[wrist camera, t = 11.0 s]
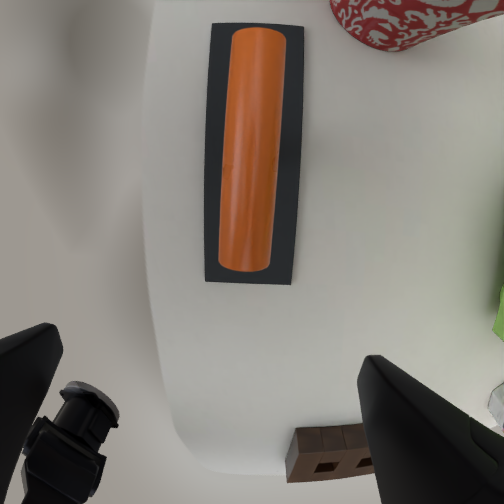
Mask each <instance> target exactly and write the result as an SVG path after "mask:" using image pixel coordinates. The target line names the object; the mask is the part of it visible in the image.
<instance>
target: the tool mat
mask: <svg viewBox="0 0 504 504" xmlns="http://www.w3.org/2000/svg"><path fill="white" fill-rule="evenodd" d="M252 27H260V28H268V29H272V30H275V31H278V32H280V33H282V34H283V35H284V36H285V38H286V55H285V72H284V89H283V104H282V119H281V134H280V147H279V161H278V174H277V186H276V199H275V211H274V222H273V234H272V245H271V256H270V264H269V266H268V267H267V268H265V269H263V270H260V271H253V272H242V271H235V270H231V269H228V268H225V267H223V266H222V265H221V264H220V263H219V260H218V259H219V228H220V203H221V182H222V163H223V146H224V131H225V116H226V102H227V90H228V77H229V66H230V55H231V44H232V36H233V34H234V33H235V32H236V31H238V30H241V29H244V28H252ZM303 78H304V27H302V26H293V25H281V24H265V23H213V24H212V31H211V43H210V56H209V70H208V87H207V107H206V131H205V169H204V255H205V281H206V282H227V283H250V284H278V285H291V279H292V269H293V258H294V247H295V235H296V222H297V208H298V194H299V178H300V160H301V140H302V115H303Z"/></svg>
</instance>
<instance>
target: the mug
mask: <svg viewBox="0 0 504 504" xmlns="http://www.w3.org/2000/svg"><path fill="white" fill-rule="evenodd" d="M330 5H331V9H332V11H333V13H334V15H335V17H336V18H337V20H338V21H339V23H340V24H341V25H342V26H343V28H344V29H345V30H346V31H348V32H349V33H350V34H351V35H352V36H353V37H355V38H356V39H358V40H359V41H361V42H363V43H365V44H367V45H369V46H371V47H373V48H376V49H380V50H383V51H391V52H394V51H402V50H406V49H408V48H411V47H413V46H415V45H417V44H419V43H421V42H424V41H426V40H429V39H431V38H435V37H437V36H439V35H442V34H445V33H447V32H450V31H453V30H456V29H458V28H460V27H463V26H466V25H470V24H472V23H475V22H478V21H481V20H485V19H489V18H492V17H495V16H499V15H502V14H504V0H330Z"/></svg>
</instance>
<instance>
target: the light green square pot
mask: <svg viewBox="0 0 504 504" xmlns="http://www.w3.org/2000/svg"><path fill="white" fill-rule="evenodd" d="M492 330H493V332H494V333H495V334H497V335H498V336H499V337H500V338H501V339H502V340H503V341H504V284H503V286H502V289H501V292H500V307H499V310H498V314H497V317H496V320H495V323H494V326H493V329H492Z"/></svg>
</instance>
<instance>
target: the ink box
mask: <svg viewBox="0 0 504 504" xmlns="http://www.w3.org/2000/svg"><path fill="white" fill-rule="evenodd" d="M488 409H489V411H490V413H491V414H492V415H493V417H494V418H495V420H496V422H497V423H498V425H499V426H500V428H501V429H502V431H503V432H504V383H503V384H502V385H500V386H499V387H498V388H496V389H495V390H493V392H492V395H491V399H490V402H489V406H488Z"/></svg>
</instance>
